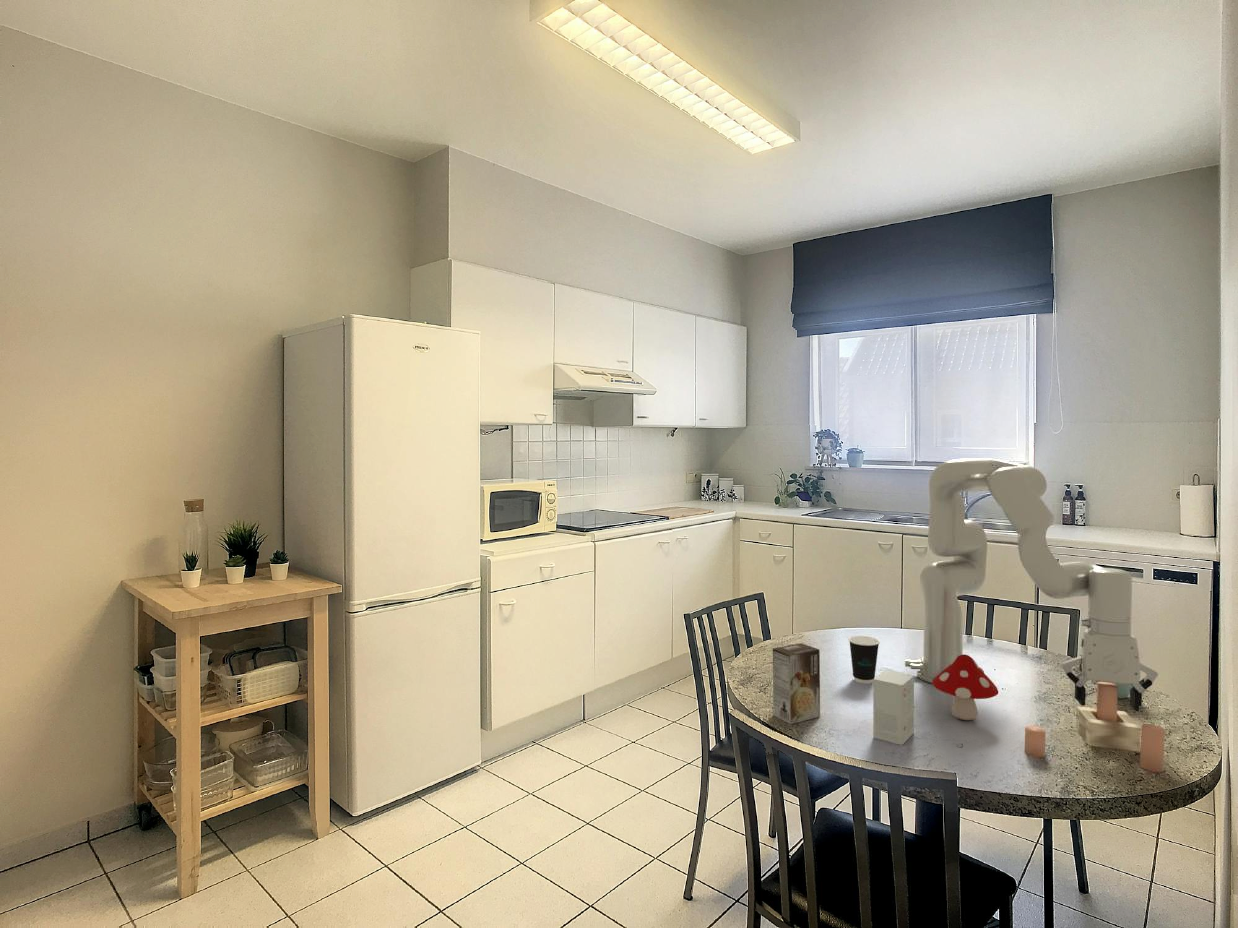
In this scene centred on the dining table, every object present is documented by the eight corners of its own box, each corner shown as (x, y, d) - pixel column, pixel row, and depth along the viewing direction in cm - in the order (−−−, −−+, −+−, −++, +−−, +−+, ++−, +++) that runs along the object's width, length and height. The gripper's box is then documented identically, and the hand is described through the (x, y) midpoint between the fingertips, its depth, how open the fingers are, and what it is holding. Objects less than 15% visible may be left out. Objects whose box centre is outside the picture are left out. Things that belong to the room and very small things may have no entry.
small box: (885, 725, 156) (885, 668, 155) (914, 733, 152) (915, 674, 151) (872, 737, 150) (872, 678, 149) (902, 745, 145) (902, 685, 145)
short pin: (1026, 755, 141) (1027, 731, 140) (1022, 748, 144) (1023, 724, 144) (1047, 758, 139) (1047, 734, 139) (1042, 750, 143) (1043, 727, 143)
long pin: (1099, 741, 147) (1100, 686, 146) (1093, 735, 150) (1094, 680, 150) (1119, 744, 145) (1120, 688, 145) (1113, 737, 149) (1114, 682, 148)
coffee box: (801, 707, 166) (801, 642, 166) (820, 717, 161) (821, 649, 160) (771, 715, 162) (771, 647, 161) (790, 725, 156) (790, 655, 156)
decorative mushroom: (970, 704, 168) (971, 643, 167) (1014, 727, 154) (1015, 661, 154) (919, 709, 165) (919, 647, 164) (959, 733, 151) (959, 666, 151)
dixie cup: (862, 687, 179) (863, 645, 179) (841, 677, 187) (842, 637, 186) (886, 682, 183) (886, 641, 182) (864, 673, 190) (865, 634, 189)
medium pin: (1145, 770, 134) (1146, 730, 133) (1136, 762, 137) (1138, 722, 137) (1166, 773, 133) (1168, 732, 132) (1157, 764, 136) (1159, 725, 136)
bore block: (1088, 745, 145) (1089, 722, 145) (1076, 728, 153) (1076, 706, 153) (1139, 751, 142) (1140, 727, 142) (1124, 733, 150) (1124, 711, 150)
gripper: (1066, 628, 146) (1065, 707, 147) (1165, 635, 140) (1163, 718, 141) (1057, 619, 153) (1056, 695, 154) (1150, 625, 147) (1149, 704, 148)
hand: (1107, 706), depth 147 cm, fingers open, 9 cm apart
